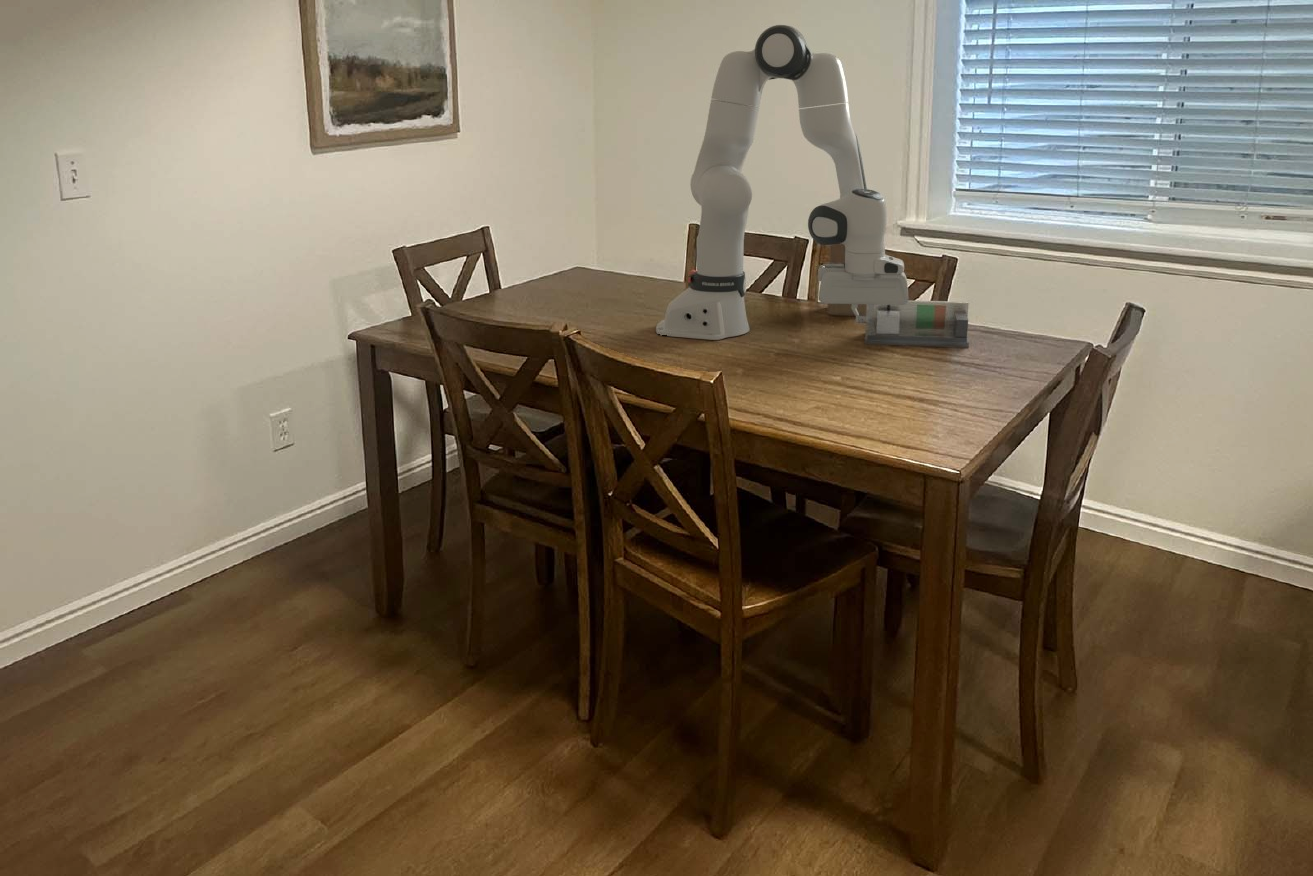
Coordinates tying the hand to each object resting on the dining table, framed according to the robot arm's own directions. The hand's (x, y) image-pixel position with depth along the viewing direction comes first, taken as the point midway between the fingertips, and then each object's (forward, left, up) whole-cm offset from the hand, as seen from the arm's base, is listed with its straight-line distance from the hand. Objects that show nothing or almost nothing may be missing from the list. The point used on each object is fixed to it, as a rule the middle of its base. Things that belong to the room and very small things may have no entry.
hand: (862, 322), depth 259 cm
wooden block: (-4, +27, -4) cm, 28 cm away
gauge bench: (+12, +2, -4) cm, 13 cm away
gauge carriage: (+6, +1, -3) cm, 6 cm away
